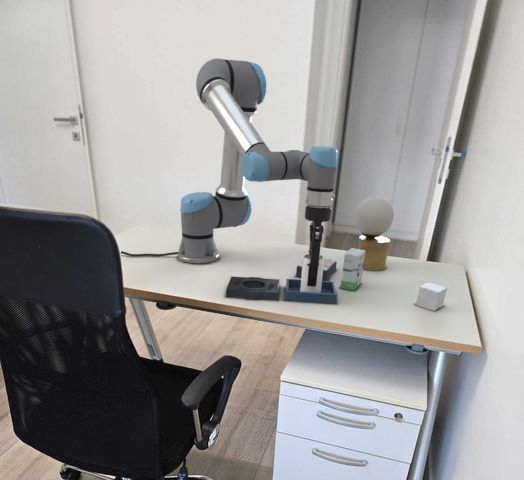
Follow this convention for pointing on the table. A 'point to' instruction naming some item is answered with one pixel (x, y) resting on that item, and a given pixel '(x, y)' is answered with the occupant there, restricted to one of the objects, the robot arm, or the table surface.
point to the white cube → (431, 296)
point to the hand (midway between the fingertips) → (311, 281)
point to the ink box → (352, 268)
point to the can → (305, 275)
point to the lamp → (374, 230)
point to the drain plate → (260, 290)
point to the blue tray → (325, 296)
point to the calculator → (327, 269)
